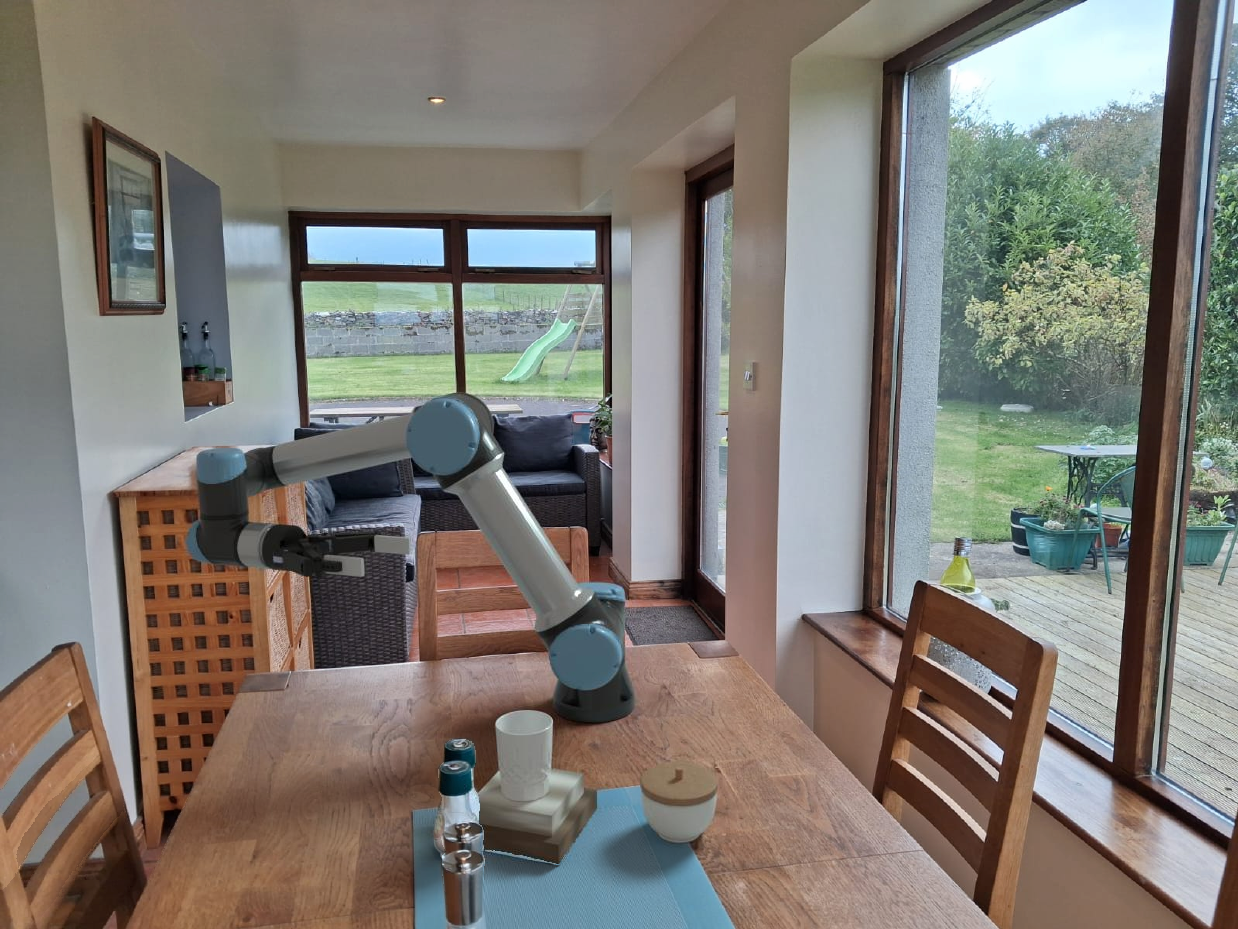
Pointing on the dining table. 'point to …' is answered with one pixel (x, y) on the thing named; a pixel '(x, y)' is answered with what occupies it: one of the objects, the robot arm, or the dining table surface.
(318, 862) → the dining table surface
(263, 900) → the dining table surface
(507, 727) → the white cup
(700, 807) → the lidded jar
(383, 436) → the robot arm
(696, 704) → the dining table surface
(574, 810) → the block stand
